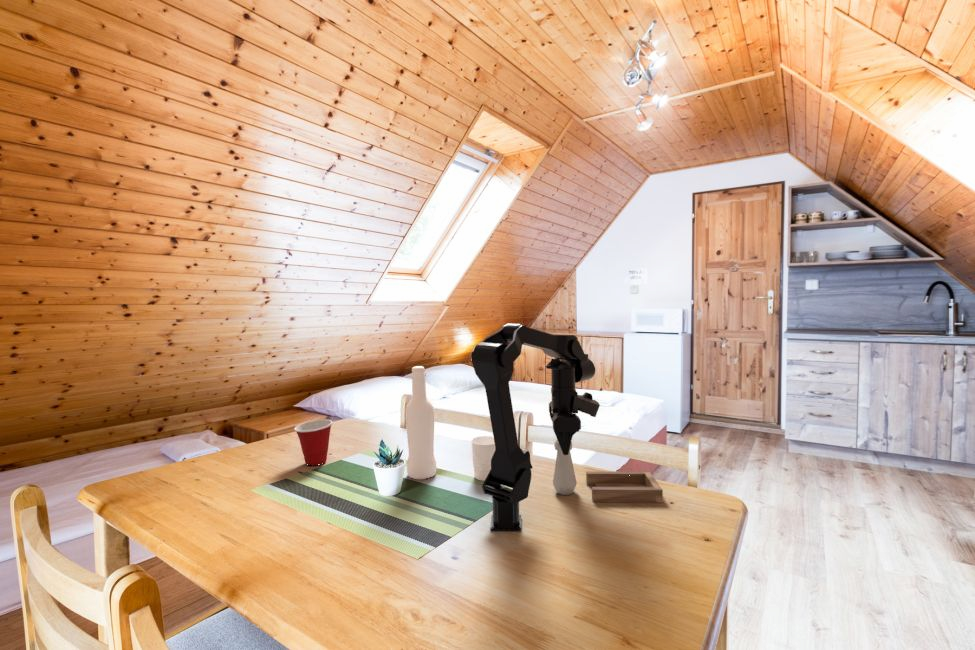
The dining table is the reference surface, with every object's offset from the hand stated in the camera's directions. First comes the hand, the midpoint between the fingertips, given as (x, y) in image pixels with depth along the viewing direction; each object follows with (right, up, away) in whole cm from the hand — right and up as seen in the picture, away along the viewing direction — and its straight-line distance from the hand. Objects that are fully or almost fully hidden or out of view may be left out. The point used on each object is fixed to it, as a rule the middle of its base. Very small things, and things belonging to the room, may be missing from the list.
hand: (564, 448), depth 120 cm
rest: (+14, -11, 0) cm, 17 cm away
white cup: (-19, -11, +12) cm, 25 cm away
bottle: (-37, -11, +14) cm, 41 cm away
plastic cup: (-70, -11, +26) cm, 76 cm away
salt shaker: (0, -11, +1) cm, 11 cm away
